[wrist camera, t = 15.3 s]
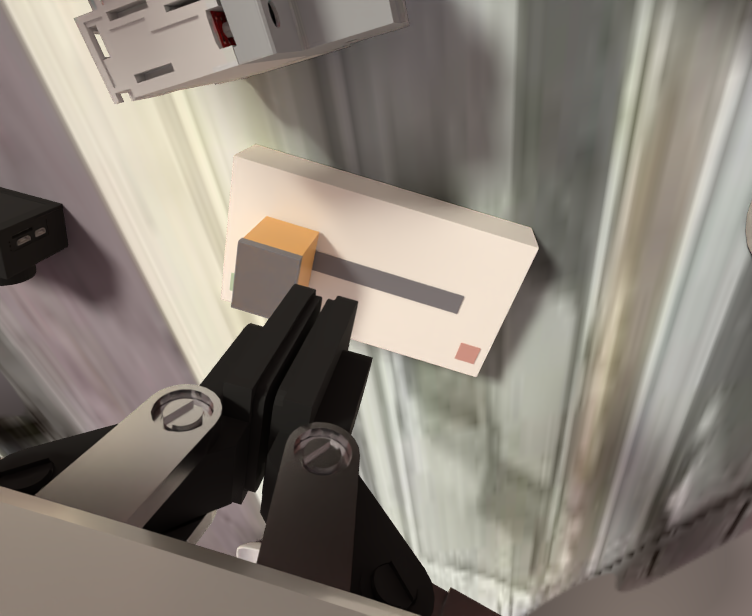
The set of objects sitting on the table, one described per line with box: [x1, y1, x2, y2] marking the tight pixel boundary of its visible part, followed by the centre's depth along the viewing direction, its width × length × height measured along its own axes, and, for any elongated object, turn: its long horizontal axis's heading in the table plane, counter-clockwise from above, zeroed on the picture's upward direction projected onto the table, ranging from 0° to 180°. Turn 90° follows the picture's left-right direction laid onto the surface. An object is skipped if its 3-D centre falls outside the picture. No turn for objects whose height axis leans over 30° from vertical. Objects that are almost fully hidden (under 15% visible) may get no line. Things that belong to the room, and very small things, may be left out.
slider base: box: [221, 144, 539, 377], centre depth 37 cm, size 22×12×4 cm, turn 75°
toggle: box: [231, 216, 319, 319], centre depth 33 cm, size 4×5×5 cm
